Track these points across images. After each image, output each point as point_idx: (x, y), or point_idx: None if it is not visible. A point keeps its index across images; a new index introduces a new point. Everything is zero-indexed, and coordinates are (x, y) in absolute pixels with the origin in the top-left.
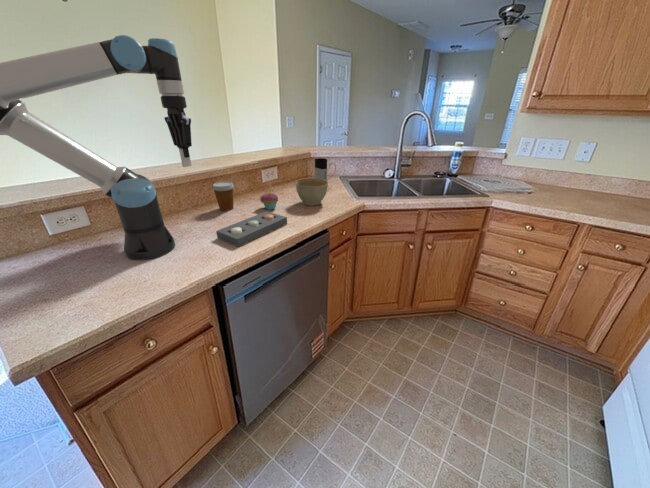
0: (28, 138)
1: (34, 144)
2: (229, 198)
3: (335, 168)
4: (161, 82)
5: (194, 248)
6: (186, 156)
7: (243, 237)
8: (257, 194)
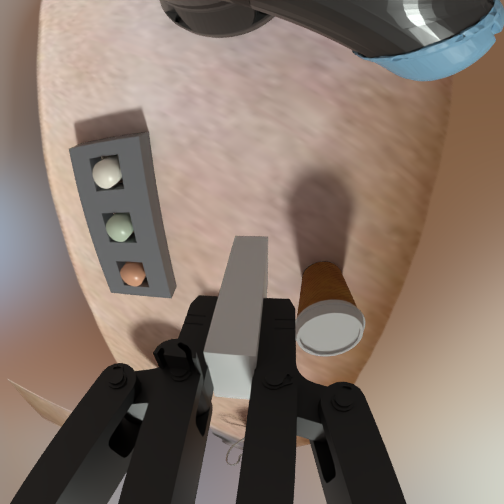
0: None
1: None
2: (299, 301)
3: (226, 456)
4: None
5: (139, 62)
6: (191, 304)
7: (74, 165)
8: (329, 367)
